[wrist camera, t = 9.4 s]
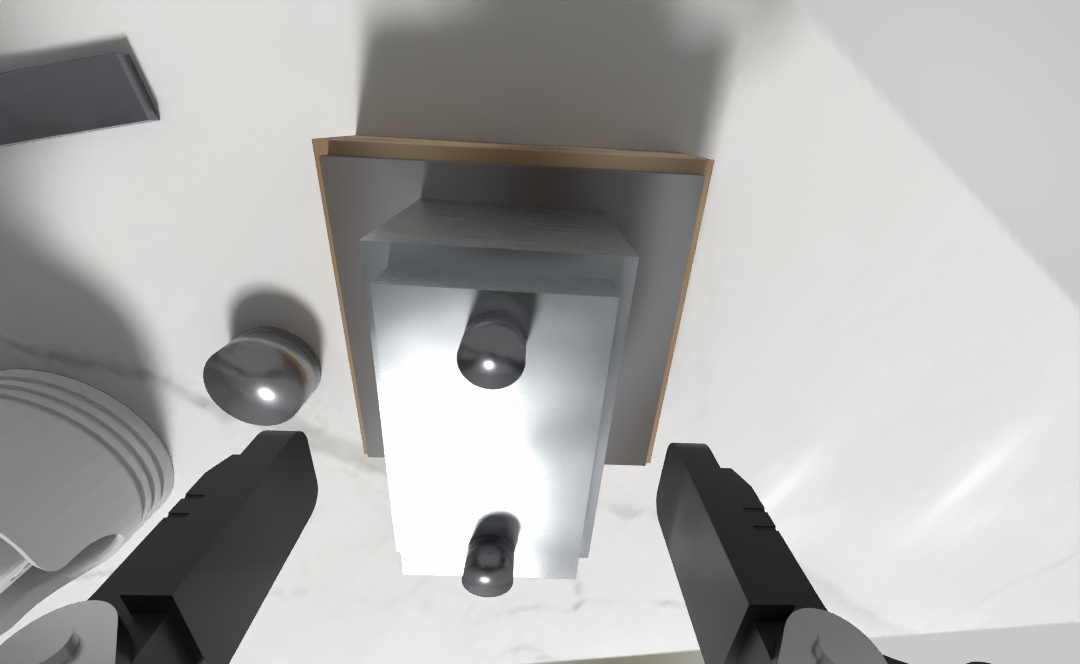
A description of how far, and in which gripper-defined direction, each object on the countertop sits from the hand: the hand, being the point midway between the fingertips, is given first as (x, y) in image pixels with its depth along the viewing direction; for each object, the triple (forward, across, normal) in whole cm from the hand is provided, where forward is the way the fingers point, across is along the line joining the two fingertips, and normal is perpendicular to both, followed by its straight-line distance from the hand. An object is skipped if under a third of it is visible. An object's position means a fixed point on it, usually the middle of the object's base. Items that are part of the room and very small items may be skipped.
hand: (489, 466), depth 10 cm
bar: (+11, +19, -6) cm, 22 cm away
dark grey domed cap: (+10, +11, +4) cm, 15 cm away
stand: (+10, 0, 0) cm, 10 cm away
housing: (+6, 0, 0) cm, 6 cm away
